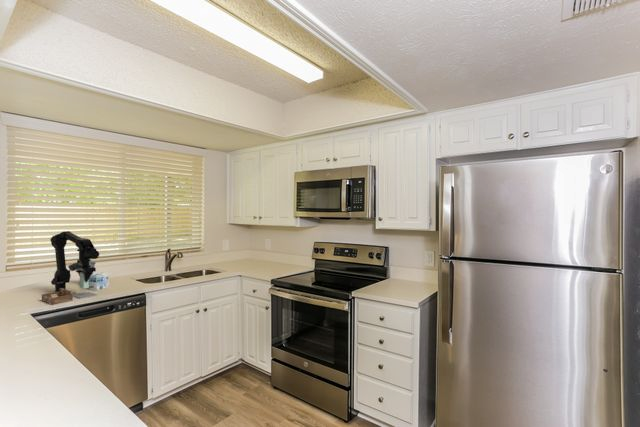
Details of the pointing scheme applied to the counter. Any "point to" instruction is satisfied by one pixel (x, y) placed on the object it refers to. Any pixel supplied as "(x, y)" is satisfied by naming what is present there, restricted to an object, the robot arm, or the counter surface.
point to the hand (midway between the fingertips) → (84, 281)
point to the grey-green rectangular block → (83, 281)
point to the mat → (84, 295)
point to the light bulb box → (99, 281)
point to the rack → (62, 295)
